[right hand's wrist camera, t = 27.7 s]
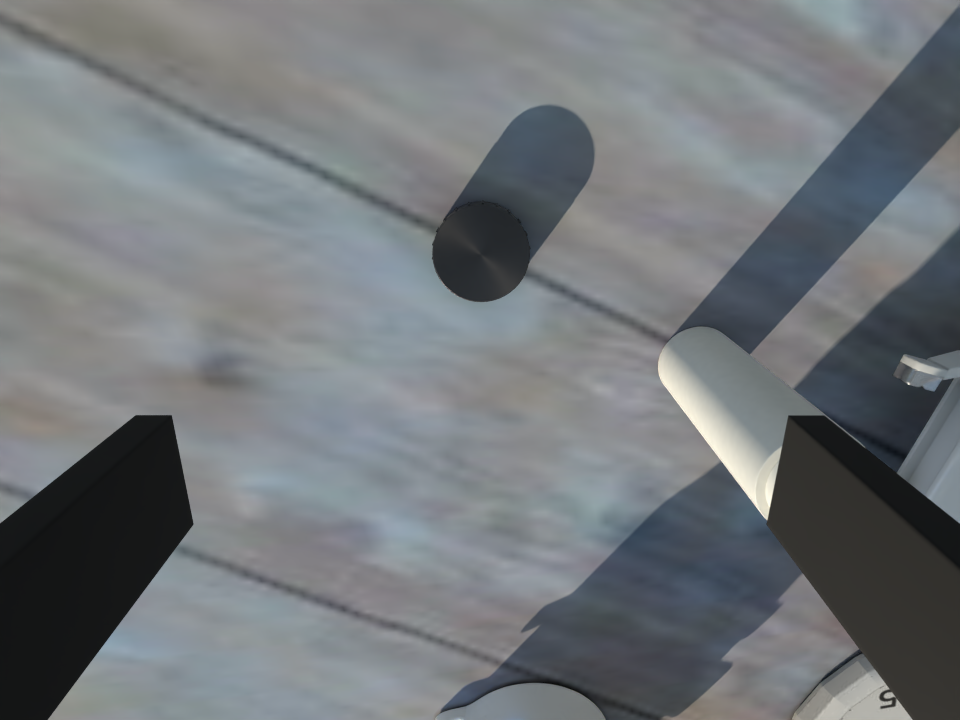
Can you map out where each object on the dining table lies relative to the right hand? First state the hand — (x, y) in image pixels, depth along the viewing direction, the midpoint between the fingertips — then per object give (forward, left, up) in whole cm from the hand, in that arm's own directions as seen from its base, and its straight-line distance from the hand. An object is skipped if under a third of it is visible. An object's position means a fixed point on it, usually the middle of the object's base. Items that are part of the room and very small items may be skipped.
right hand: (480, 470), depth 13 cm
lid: (0, 0, -27) cm, 27 cm away
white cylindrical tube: (+9, +15, -29) cm, 34 cm away
